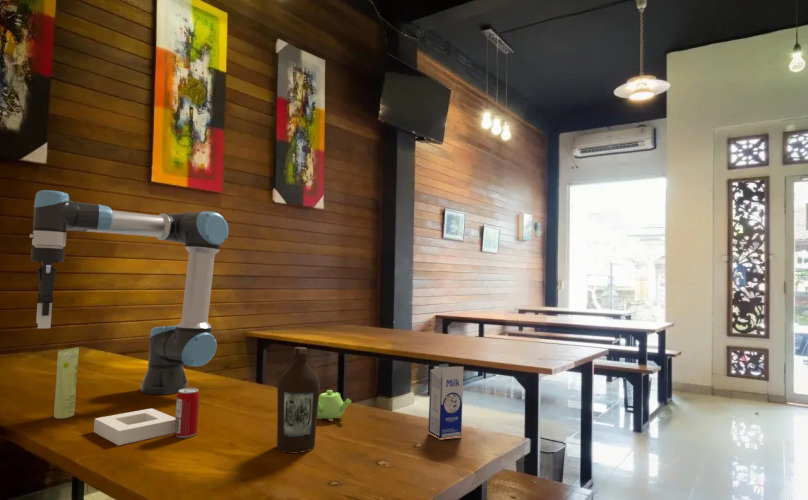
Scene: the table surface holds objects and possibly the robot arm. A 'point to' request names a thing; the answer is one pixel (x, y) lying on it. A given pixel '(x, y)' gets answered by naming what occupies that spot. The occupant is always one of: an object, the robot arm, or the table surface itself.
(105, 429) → the socket block
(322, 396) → the teapot
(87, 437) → the table surface
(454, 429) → the milk carton
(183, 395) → the soda can
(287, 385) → the olive oil
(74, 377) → the tube
